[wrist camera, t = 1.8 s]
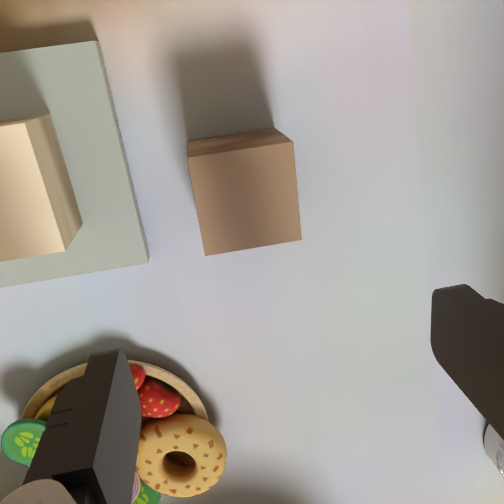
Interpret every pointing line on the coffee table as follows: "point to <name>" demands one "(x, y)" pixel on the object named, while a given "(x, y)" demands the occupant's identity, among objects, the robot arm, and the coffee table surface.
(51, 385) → the toy food set
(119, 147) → the board
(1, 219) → the beech block
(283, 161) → the walnut cube
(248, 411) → the coffee table surface
